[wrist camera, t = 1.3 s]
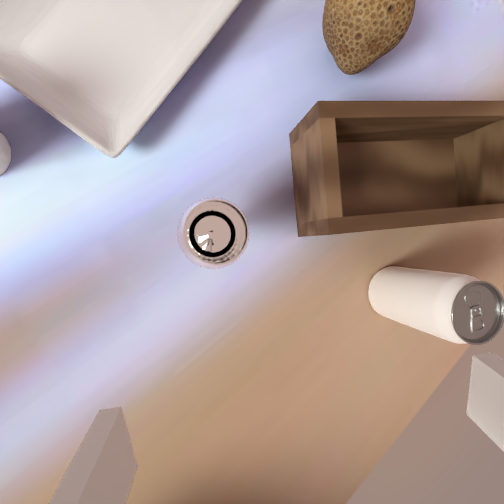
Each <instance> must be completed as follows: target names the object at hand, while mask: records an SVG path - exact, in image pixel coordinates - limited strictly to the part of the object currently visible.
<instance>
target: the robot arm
mask: <svg viewBox="0 0 504 504" xmlns="http://www.w3.org/2000/svg"><path fill="white" fill-rule="evenodd" d="M467 415H468V416H469V417H470V418H471V419H472V420H473V421H474V422H475V423H476V424H477V425H478V426H479V427H480V428H481V429H482V430H483V431H484V432H485V433H486V434H487V435H488V436H489V437H490V438H491V439H492V440H493V441H494V442H495V443H496V445H498V447H499V448H501V449H502V451H504V360H503V359H501V358H500V357H498V356H497V355H496V354H494V353H493V352H491V353H483V354H477V355H473V359H472V368H471V377H470V387H469V396H468V406H467ZM137 466H138V465H137V462H136V458H135V455H134V451H133V447H132V444H131V440H130V436H129V433H128V429H127V426H126V422H125V418H124V415H123V411H122V408H121V407H117V408H111V409H104V410H99V412H98V414H97V416H96V418H95V419H94V421H93V423H92V425H91V427H90V429H89V430H88V432H87V434H86V436H85V438H84V440H83V441H82V443H81V445H80V447H79V449H78V451H77V453H76V454H75V456H74V458H73V460H72V462H71V464H70V465H69V467H68V469H67V471H66V473H65V475H64V476H63V478H62V480H61V482H60V484H59V486H58V487H57V489H56V491H55V493H54V495H53V497H52V499H51V500H50V502H49V504H126V502H127V499H128V496H129V492H130V489H131V486H132V483H133V479H134V476H135V473H136V470H137Z"/></svg>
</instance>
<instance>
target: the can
mask: <svg viewBox="0 0 504 504" xmlns="http://www.w3.org/2000/svg"><path fill="white" fill-rule="evenodd" d="M368 295H369V301H370V303H371V306H372V307H373V309H374V310H375V311H376V312H377V313H378V314H380V315H382V316H384V317H387V318H389V319H392V320H394V321H397V322H400V323H402V324H405V325H407V326H410V327H413V328H415V329H418V330H421V331H423V332H426V333H428V334H431V335H434V336H436V337H439V338H442V339H445V340H447V341H450V342H454V343H469V344H473V345H480V344H484V343H487V342H489V341H490V340H492V339H493V338H494V337H495V336H496V335H497V334H498V332H499V331H500V329H501V327H502V325H503V322H504V300H503V297H502V295H501V293H500V292H499V290H498V289H497V288H496V287H495V286H494V285H492V284H490V283H488V282H485V281H481V280H479V279H478V278H476V277H473V276H470V275H465V274H458V273H450V272H442V271H433V270H424V269H415V268H406V267H397V266H390V267H386V268H383V269H381V270H380V271H378V272H377V273H376V274H375V275H374V277H373V278H372V280H371V282H370V285H369V291H368Z"/></svg>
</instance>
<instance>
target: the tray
mask: <svg viewBox="0 0 504 504" xmlns="http://www.w3.org/2000/svg"><path fill="white" fill-rule="evenodd" d="M241 2H242V0H0V79H1V80H3V81H4V82H6V83H7V84H9V85H10V86H11V87H13V88H14V89H16V90H17V91H18V92H20V93H21V94H23V95H24V96H25V97H27V98H28V99H30V100H31V101H32V102H34V103H35V104H37V105H38V106H39V107H41V108H42V109H44V110H45V111H46V112H48V113H49V114H50V115H52V116H53V117H54V118H56V119H57V120H58V121H60V122H61V123H62V124H64V125H65V126H66V127H68V128H69V129H70V130H72V131H73V132H74V133H76V134H77V135H78V136H80V137H81V138H82V139H84V140H85V141H87V142H88V143H89V144H91V145H92V146H93V147H95V148H96V149H98V150H99V151H101V152H102V153H104V154H105V155H107V156H109V157H112V158H115V157H117V156H118V155H120V154H121V153H122V151H123V150H124V149H125V148H126V147H127V146H128V145H129V143H130V142H131V141H132V140H133V139H134V138H135V136H136V135H137V134H138V133H139V131H140V130H141V129H142V127H143V126H144V125H145V124H146V122H147V121H148V120H149V118H150V117H151V116H152V115H153V114H154V112H155V111H156V110H157V109H158V107H159V106H160V105H161V104H162V102H163V101H164V100H165V99H166V97H167V96H168V95H169V94H170V92H171V91H172V90H173V88H174V87H175V86H176V85H177V83H178V82H179V81H180V80H181V78H182V77H183V76H184V75H185V74H186V72H187V71H188V70H189V69H190V67H191V66H192V65H193V64H194V62H195V61H196V60H197V59H198V57H199V56H200V55H201V54H202V52H203V51H204V50H205V49H206V47H207V46H208V45H209V43H210V42H211V41H212V39H213V38H214V37H215V36H216V34H217V33H218V32H219V30H220V29H221V28H222V27H223V25H224V24H225V23H226V21H227V20H228V19H229V17H230V16H231V15H232V14H233V12H234V11H235V10H236V8H237V7H238V6H239V4H240V3H241Z"/></svg>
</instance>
